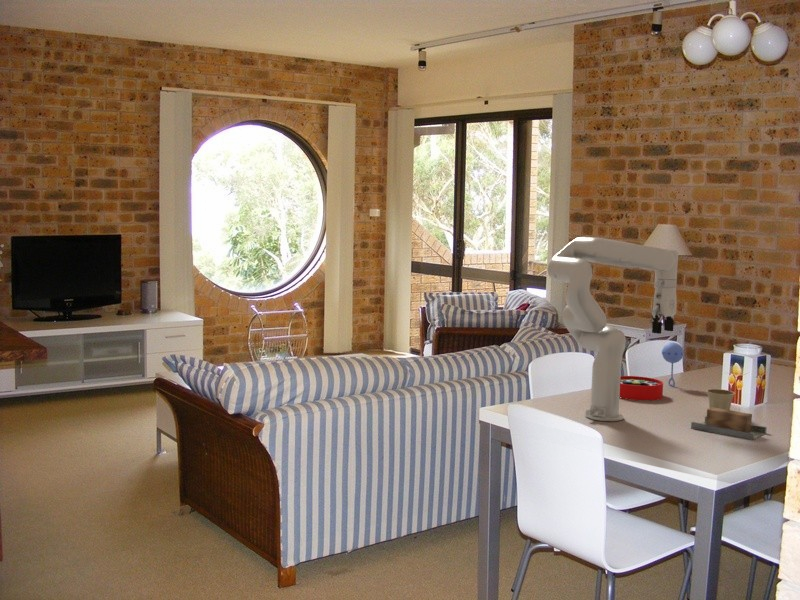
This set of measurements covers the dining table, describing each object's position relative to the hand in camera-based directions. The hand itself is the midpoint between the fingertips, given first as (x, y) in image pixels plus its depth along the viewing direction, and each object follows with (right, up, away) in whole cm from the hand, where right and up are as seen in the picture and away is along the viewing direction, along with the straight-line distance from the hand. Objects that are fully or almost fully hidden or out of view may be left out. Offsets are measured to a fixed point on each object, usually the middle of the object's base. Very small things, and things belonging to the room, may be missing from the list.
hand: (662, 331), depth 312 cm
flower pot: (+19, -30, -3) cm, 35 cm away
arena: (+14, -31, -25) cm, 42 cm away
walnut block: (+14, -31, -25) cm, 42 cm away
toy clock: (-2, -26, +28) cm, 38 cm away
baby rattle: (+18, -24, +48) cm, 56 cm away
